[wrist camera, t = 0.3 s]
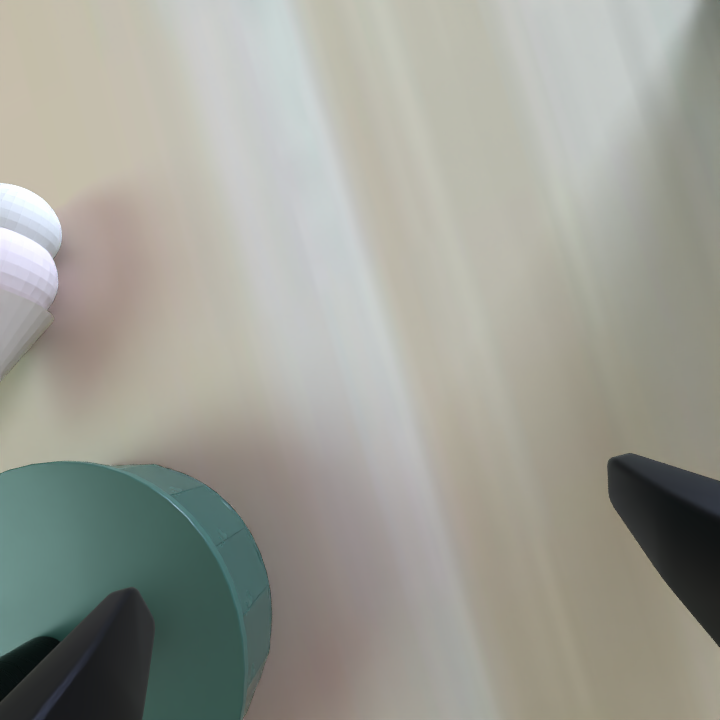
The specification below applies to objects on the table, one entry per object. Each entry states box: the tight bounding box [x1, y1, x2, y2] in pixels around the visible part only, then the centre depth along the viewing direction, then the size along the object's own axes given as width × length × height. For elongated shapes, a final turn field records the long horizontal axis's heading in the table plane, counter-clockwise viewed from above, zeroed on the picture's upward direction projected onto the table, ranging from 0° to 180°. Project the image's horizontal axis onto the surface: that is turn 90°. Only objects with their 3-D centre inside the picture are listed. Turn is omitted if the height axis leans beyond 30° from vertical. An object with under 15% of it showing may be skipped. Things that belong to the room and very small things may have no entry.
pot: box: [112, 464, 272, 718], centre depth 21 cm, size 15×15×5 cm
